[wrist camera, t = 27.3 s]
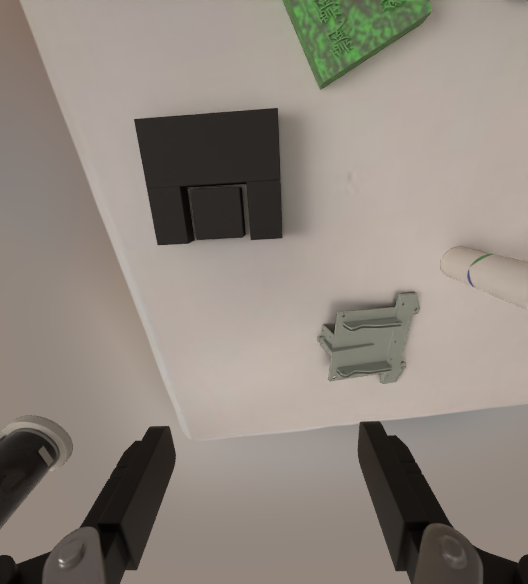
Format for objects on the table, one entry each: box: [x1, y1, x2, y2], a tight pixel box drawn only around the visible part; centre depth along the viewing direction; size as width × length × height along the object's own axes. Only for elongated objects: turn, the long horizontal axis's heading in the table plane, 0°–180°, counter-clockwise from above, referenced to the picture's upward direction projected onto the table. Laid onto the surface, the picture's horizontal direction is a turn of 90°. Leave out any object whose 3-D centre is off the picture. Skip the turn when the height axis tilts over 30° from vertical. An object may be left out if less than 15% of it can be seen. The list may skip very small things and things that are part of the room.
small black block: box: [190, 186, 246, 240], centre depth 34 cm, size 6×6×3 cm
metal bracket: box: [317, 293, 420, 384], centre depth 40 cm, size 14×6×15 cm
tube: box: [440, 247, 528, 310], centre depth 29 cm, size 4×4×15 cm
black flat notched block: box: [134, 108, 282, 245], centre depth 33 cm, size 16×14×3 cm
